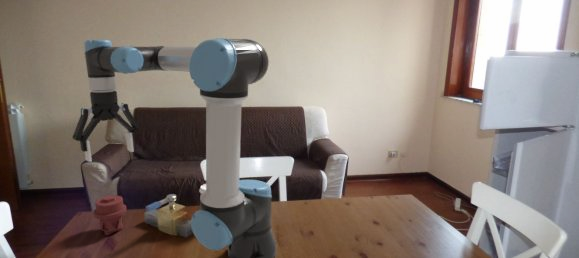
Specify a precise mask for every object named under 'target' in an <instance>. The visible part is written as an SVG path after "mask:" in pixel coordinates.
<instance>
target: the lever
mask: <svg viewBox="0 0 579 258" xmlns="http://www.w3.org/2000/svg"><path fill="white" fill-rule="evenodd" d="M173 201H174V202H176V201H177V194H175V193H171V194H170V193H169V194H167V195H166V197H165V198H164V199H161V200H159V201H155V202H152V203H150V204H148V205H145V212H147V211H149V212H150V211H152V210H154V209H156V210H157V209H158V208H160V207H161V206H162V205H165V204H167V203H169V202H173Z"/></svg>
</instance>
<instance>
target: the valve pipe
mask: <svg viewBox="0 0 579 258" xmlns="http://www.w3.org/2000/svg"><path fill="white" fill-rule="evenodd" d="M143 213H144V223H145V224H147V225H149V224H150V226H153V227H154V228H158V231H160V232H162V233H165V234H168V235H171V236H174V235H175V237H177V236H180V237H183V238H188V237H190V236H191V235H194V233H193V231H192V228H191V219H189V213H188V212H187V209H186V206H185V205H182V204H179V203H176V201H173V202H168V204H167V205H165V206H162V207H161V208H159V209H157V208H156V209H154V210H152V211H150V212H149V211H145V212H143Z"/></svg>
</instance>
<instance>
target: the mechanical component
mask: <svg viewBox="0 0 579 258" xmlns="http://www.w3.org/2000/svg"><path fill="white" fill-rule="evenodd" d="M125 213H127V205H126V204H124V199H123V197H122V196H121V195H113V194H112V195H111V194H109V195H106V196H104V197H100V198H98V199H97V200H96V201H95V209H94V210H93V217H94V218H95V219H97V220H99V226H100V230H101V231H103V232H104V235H105V236H109V235H111V234H113V233H116V232H119V231H123V229H124V223H123V222H124V221H123V215H124V214H125Z"/></svg>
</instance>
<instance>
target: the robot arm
mask: <svg viewBox="0 0 579 258" xmlns="http://www.w3.org/2000/svg"><path fill="white" fill-rule="evenodd" d="M268 55H269V54H268V53H267V51H266V48H264V47H263V46H262V45H261V44H260V43H259V42H258V41H256V40H253V39H247V38H242V39H241V38H223V37H220V38H210V39H206V40H204V41H202V42H200V43H199V44H198V46H163V45H157V46H123V45H122V46H113V45H112V41H111V40H109V39H87V40H85V41H84V59H85V65H86V71H87V72H86V73H87V80H88V88H89V91H90V92H89V97H90V103H91V108H85V107H82V108H81V109H80V117H79V119H78V122H77V124H76V127H75V130H74V132H73V135H72V137H71V138H72V140H75V141H77V142H79V143H80V144H79V145H80V150H81V152H84V159H85V161H87V162H90V163H91V162H92V161H93V160H92V158H93V157H92V150H91V143H90V140H88V139H89V137H90V136H91V134H92V133H93V131H94V130H95V128H96V127H97V125H98V124H99V123H100V122H105V121H108V120H109V121H111V120H112V121H113V120H115V121H117V122H118V123H119V124H120V125H121V126H122V127H124V129H125V130H127V131H126V132H125V138H126V147H127V149H126V150H127V151H128V152H130V153H134V152H135V150H134V142H135V140H136V138H135V137H136V136H135V135H136V134H135V133H136V132H137V130H140V125H139V124H138V122H137V120H136V119H135V117H134V116H133V115H132V113H131V110H130V109H129V104H128V103H123V102H121V103H120V104H118V102H119V101H118V91H116V89H117V81H116V73H118V74H119V73H121V74H125V75H126V74H135V73H138V72H147V71H149V72H151V71H164V72H165V71H167V72H168V71H169V72H171V71H172V72H184V73H189V76H190V78H191V80H193V84H194V85H195V87H197V88H198V89H199V96H201V98H202V99H204V101H205V103H206V108H205V110H206V112H205V119H206V120H205V122H206V123H205V131H206V132H205V133H206V134H205V140H206V141H205V148H206V149H205V157H206V158H205V178H206V179H205V184H206V191H205V192H203V193H202V194H200V197H199V206H200V208H199V209H198V210H196V211H195V213H194V214H192V216H191V219H190V221H191V228H192V231H193V235H194V237H195V238H196V239H197V241H198V242H199V243H200V244H201V245H202V246H203V247H204V248H207V249H209V250H211V251H220V250H223V249H224V248H226V247H227V256H228V258H276V255H277V249H278V247H277V246H278V244H277V242H276V239H275V236H274V232H273V230H272V198H273V196H272V188H271V186H270V184H269V183H267V182H265V181H261V180H258V179H240V175H241V174H240V169H241V167H240V166H241V137H242V136H241V135H242V133H241V132H242V129H241V128H242V103H243V102H244V101H245V100H246V99H247V98H248V97H249V85H253V84H255V83H257V82H259V81H260V80H262V79H263V78H264V76H265V75H266V73H267V71H268V69H269V63H270V62H269V56H268ZM119 111H122V113H123V115H124V116H125V118H126V120H127V121H128V122H127V121H126V120H125V119H124V118H123V117H122V116H121V115H120V114H119V113H118V112H119ZM91 113H92V117H91V118H90V121H89V123H88V119H89V116H90V115H91ZM87 123H88V124H87Z"/></svg>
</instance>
